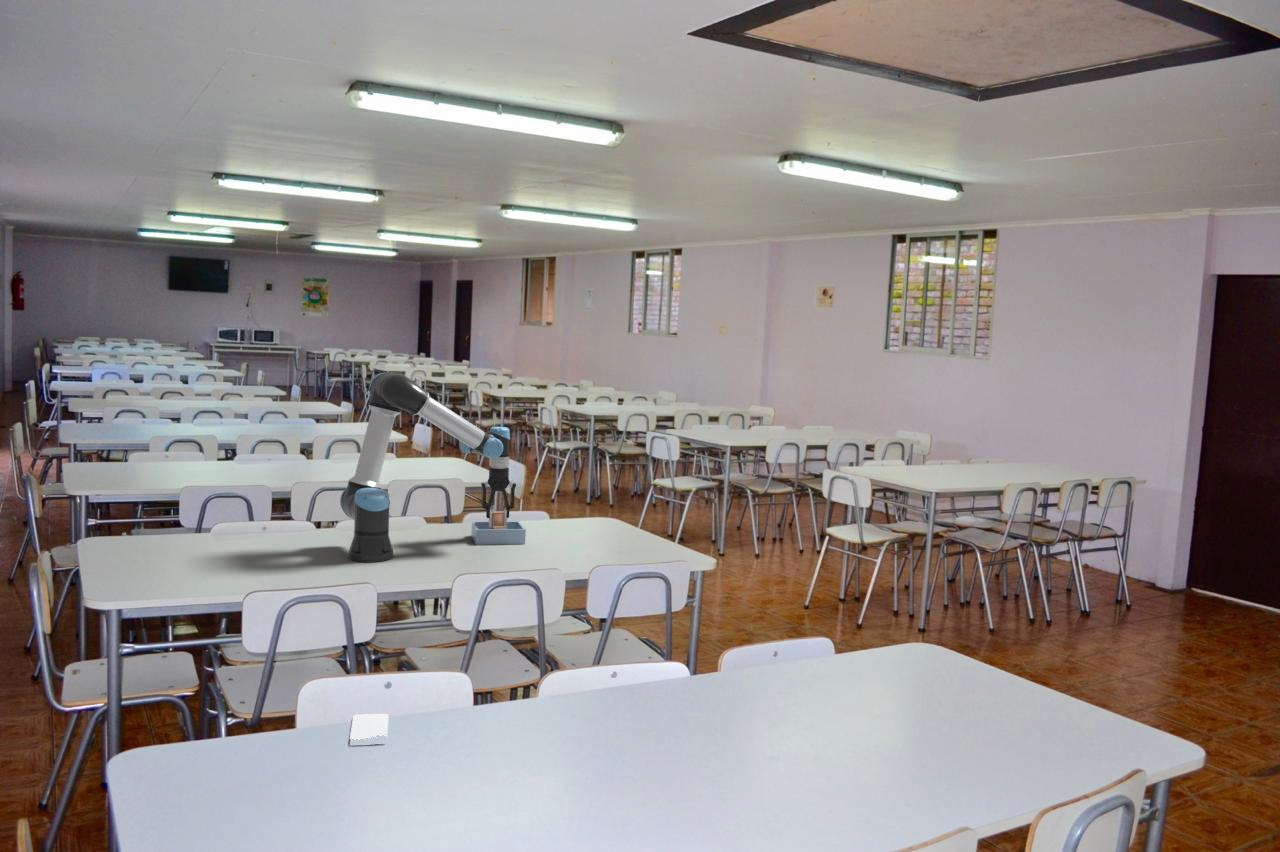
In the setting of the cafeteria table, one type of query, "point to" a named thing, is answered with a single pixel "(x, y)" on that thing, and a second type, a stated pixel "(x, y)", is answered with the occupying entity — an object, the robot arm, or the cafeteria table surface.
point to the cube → (499, 527)
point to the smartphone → (369, 726)
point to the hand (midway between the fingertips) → (497, 526)
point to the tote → (498, 533)
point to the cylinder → (497, 519)
